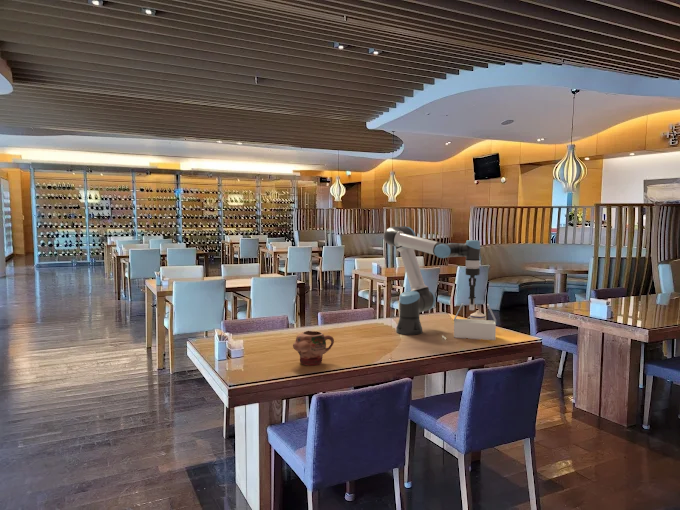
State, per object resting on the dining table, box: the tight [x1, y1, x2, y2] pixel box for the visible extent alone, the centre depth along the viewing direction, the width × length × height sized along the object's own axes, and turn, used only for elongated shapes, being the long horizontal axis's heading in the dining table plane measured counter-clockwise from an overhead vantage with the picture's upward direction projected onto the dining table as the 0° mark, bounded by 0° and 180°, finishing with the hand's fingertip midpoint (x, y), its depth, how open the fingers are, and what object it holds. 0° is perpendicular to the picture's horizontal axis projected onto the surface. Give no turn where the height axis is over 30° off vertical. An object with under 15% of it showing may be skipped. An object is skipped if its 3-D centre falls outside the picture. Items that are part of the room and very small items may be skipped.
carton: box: [453, 318, 497, 341], centre depth 267 cm, size 22×9×9 cm, turn 73°
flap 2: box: [487, 303, 497, 324], centre depth 264 cm, size 10×9×1 cm
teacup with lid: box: [466, 310, 487, 320], centre depth 287 cm, size 12×9×12 cm
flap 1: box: [453, 302, 464, 322], centre depth 269 cm, size 10×9×1 cm
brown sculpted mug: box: [292, 330, 335, 366], centre depth 220 cm, size 20×12×14 cm, turn 121°
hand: (471, 310), depth 267 cm, fingers closed
